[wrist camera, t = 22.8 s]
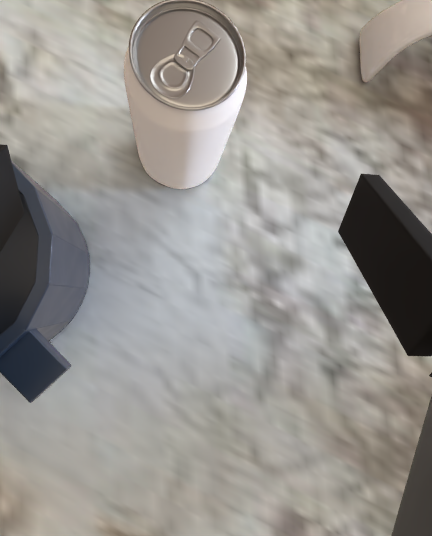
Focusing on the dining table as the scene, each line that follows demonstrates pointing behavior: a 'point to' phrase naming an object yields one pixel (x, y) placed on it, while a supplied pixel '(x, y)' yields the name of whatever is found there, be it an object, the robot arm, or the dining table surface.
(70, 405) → the dining table surface
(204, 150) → the can
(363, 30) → the beige curved piece
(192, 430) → the dining table surface
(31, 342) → the pot
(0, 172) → the robot arm
